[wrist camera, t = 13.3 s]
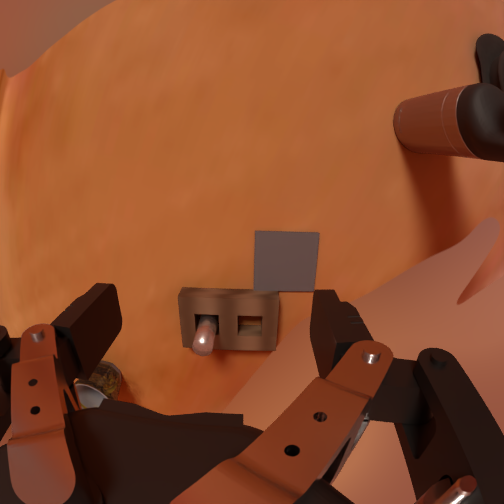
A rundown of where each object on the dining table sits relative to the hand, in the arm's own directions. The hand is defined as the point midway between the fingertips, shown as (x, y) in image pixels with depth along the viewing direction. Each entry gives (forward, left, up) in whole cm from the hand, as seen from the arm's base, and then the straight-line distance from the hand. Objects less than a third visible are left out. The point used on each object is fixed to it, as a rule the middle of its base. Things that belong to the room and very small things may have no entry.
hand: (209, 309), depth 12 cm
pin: (+5, +21, -35) cm, 42 cm away
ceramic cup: (+28, +37, -36) cm, 59 cm away
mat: (-7, +11, -35) cm, 38 cm away
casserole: (-52, -26, -36) cm, 68 cm away
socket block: (+2, +21, -35) cm, 41 cm away
